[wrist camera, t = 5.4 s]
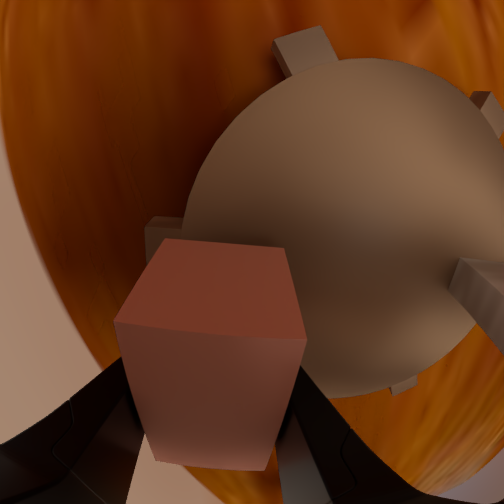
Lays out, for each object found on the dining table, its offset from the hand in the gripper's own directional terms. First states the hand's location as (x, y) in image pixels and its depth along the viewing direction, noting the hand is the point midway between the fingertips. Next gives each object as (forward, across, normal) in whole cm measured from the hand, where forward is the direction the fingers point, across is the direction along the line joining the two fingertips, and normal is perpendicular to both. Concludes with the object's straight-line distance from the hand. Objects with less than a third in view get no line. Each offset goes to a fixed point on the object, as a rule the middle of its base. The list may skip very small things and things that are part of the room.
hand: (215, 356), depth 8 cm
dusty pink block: (+2, 0, 0) cm, 2 cm away
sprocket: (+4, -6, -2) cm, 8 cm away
